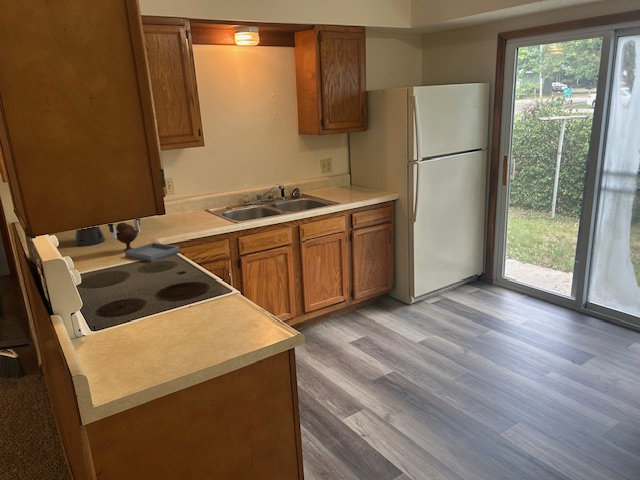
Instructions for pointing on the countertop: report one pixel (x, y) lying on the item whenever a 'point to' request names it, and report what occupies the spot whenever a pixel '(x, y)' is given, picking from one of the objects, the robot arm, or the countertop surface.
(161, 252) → the serving tray
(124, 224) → the ice cream bowl
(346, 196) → the countertop surface
